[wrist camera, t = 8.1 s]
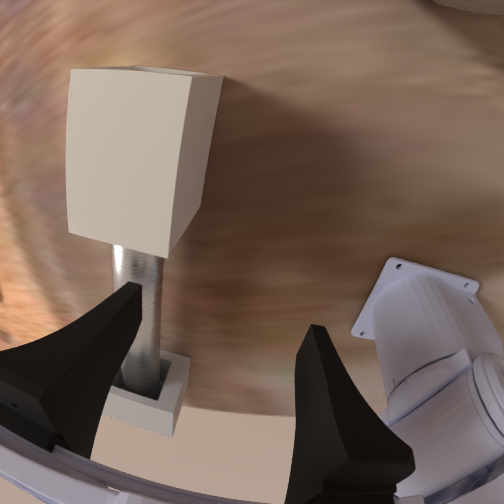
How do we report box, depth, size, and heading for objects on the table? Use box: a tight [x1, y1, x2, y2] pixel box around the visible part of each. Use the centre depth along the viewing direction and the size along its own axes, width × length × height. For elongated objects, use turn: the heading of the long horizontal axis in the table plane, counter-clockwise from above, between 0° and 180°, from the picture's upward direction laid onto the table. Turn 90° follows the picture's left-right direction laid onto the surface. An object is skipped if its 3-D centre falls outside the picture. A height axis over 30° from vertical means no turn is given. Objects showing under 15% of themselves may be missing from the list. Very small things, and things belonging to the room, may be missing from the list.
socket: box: [102, 349, 191, 437], centre depth 29 cm, size 8×6×7 cm
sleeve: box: [66, 66, 224, 259], centre depth 17 cm, size 6×9×7 cm
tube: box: [111, 244, 164, 400], centre depth 23 cm, size 4×22×4 cm, turn 168°
